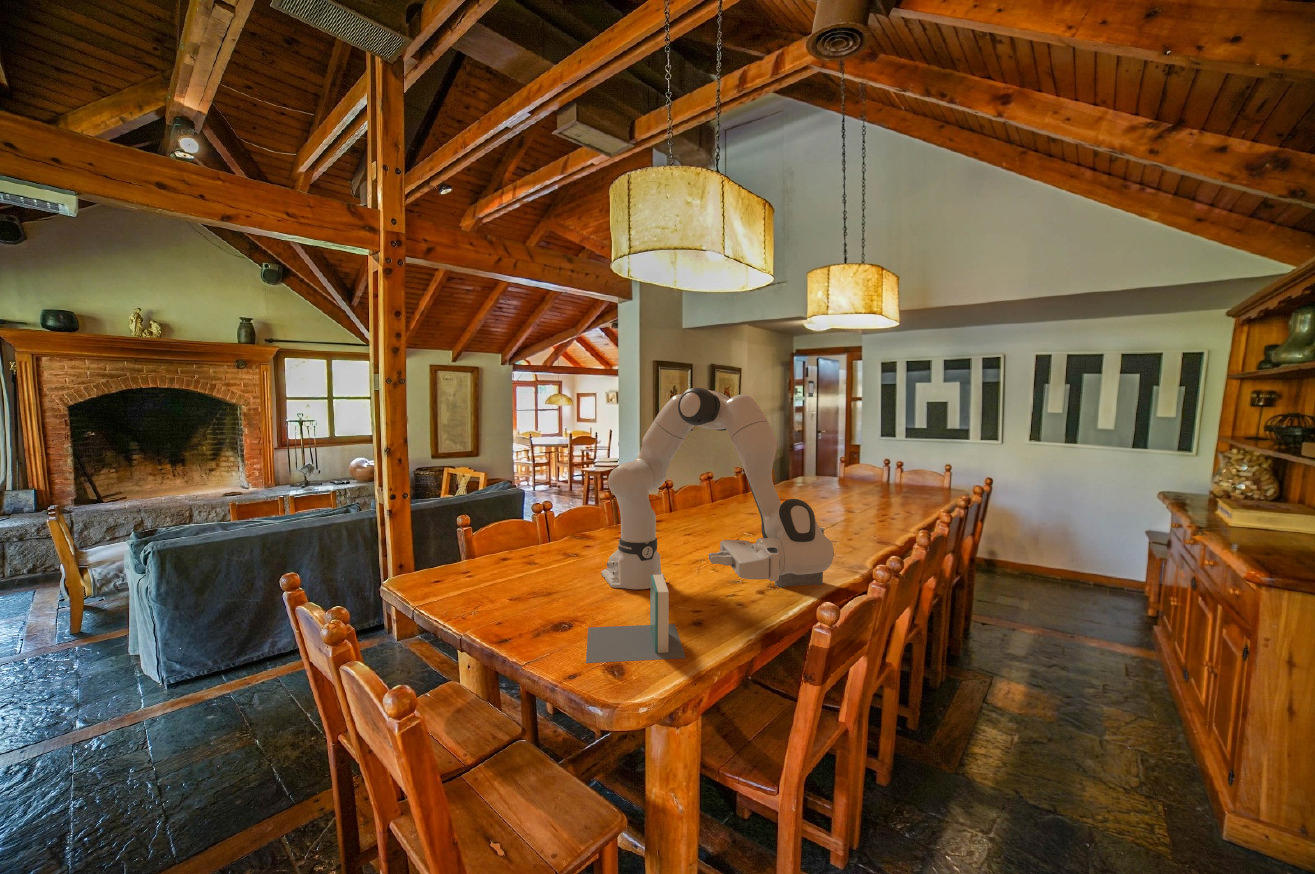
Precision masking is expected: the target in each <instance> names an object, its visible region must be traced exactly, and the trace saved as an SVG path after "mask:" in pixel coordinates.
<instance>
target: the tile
mask: <svg viewBox="0 0 1315 874" xmlns="http://www.w3.org/2000/svg"><path fill="white" fill-rule="evenodd" d="M663 574H664V573H662V575H650V588H649V589H650V590H649V591H650V593H649V594H650V595H649V596H650V597H649V598H650V600H649V601H650V611H649V612H650V614H649V616H650V619H649V620H650V622H649V623H650V624H649V625H650V631H651V635H652V640H653V645H654V649H655V653H665V652H668V630H669V624H670V623H669V621H670V619H669V617H670V616H669V615H670V614H669V611H670V609H669V607H670V606H669V605H670V602H669V601H670V596H669V595H670V594H669V593H670V592H669V588H668V586H667V583H666V581H665V576H664V577H663Z"/></svg>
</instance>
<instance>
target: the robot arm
mask: <svg viewBox="0 0 1315 874" xmlns="http://www.w3.org/2000/svg"><path fill="white" fill-rule="evenodd" d="M694 427H698V428H701V429H704V430H715V431H721V432H723V431H726V432H727V433H728V435H729V438H730V440H731V442H732V445H733V447H734V449H735V452H736V454H737V456H738V458H739V461H740V463H741V466H742V468H743V471H744V474H745V476H746V479H747V482H748V485H749V488H750V491H751V494H752V496H753V499H754V502H755V505H756V507H757V509H758V513H759V515H760V521H761V535H762V537H759V538H757V539H756V541H755V543H752V542H750V541H749V540H744V539H741V540H740V539H722V540H721V541H720V543H719V547H720V548H719V549H720V550H719V551H717V552H710V553H709V554H708V560H709V561H710V563H711V564H712V565H723V566H728V567H729V566H730V567H731V568H732V570H733V571H734V572H735V573H736V575H737V576H738V577H739V578H741V579H745V580H763V581H764V580H768V581H770V582H775V581H778V580H779V575H784V574H787V573H792V574H797V575H801V574H813V573H820V572H823V573H824V572H825V571H827V570H828V569H829V568H830V567H831V565H832V562H833V560H834V553H835V552H834V545H833V542H832V541H831V540H830V538H828V537H827V536H826V535H825V533H824V534H823V533H822V531H821V529H820V528H821V527H820V525H819V524H818V522H817V519H816V516H815V512H814V510H813V508H812V507H811V506H810V504H808V503H807V502H806V501H804V500H802V499H799V498H789V499H786V500H784V501H783V502H782V503H781V500H780V497H779V495H778V492H777V489H776V487H775V485H774V481H773V468H774V463H775V462H774V461H775V457H776V453H777V449H778V444H777V439H776V435H775V433H774V431H773V430H774V429H772V427H771V424H770V423H769V420H768V419H767V417H766V415H765V414H764V412H763V410H762V409H761V407H760V406H759V405H758V403H757V402H756V401H755V399H754V398H753V397H752V396H750V395H748V394H744V393H743V394H737V395H734V396H729V395H725V394H724V393H722V392H719V391H717V390H709V389H706V388H705V387H704V388H703V387H692V388H688V389H686V390H685V391H684V392H682V393H681V394H678V393H677V394H675V395H673V396H672V397H671V398H670V399H669V400H668V401H667V402H666V403H665V404H664V406H663V407H662V408H661V409H660V411H659V412H658V413H657V415H656V416H655V419H653V421H652V423H651V425H650V426H649V427H648V430H647V431H646V432H645V434H644V436H643V437H642V442H641V443H642V444H641V445H642V446H641V450H640V452H639V455H638V456H637V457H636V459H634V460H632V461H629V462H623V463H621V464H619V465H618V466H616V467H614V468H613V469H612V470H611V471H610V473H609V474H608V479H607V484H608V485H607V486H608V488H609V491H610V492H611V493H612V495H613V496H615V498H616V501H617V505H618V508H619V513H620V537H618V546H617V550H615V552H613V553H612V554H611V555H610V556H609V557H608V561H607V562H606V567H607V568H604V569H602V570H601V573H602V574H601V576H603V578H604V577H605V578H604V579H605V581H606V582H607V583H608V585H609V586H610V587H611V588H615V589H628V590H645V589H650V575H662V574H663V577H664V578H665V574H664V573H662V568H661V567H662V566H661V565H662V564H661V554H660V553H659V552H658V551H657V550H658V538H657V519H656V518H657V515H656V512H655V511H654V510H653V508H652V506H651V502H650V498H649V497H650V496H649V495H650V493H652V492H655V491H656V490H658V489H659V488H660V487H662V486H663V484H664V483H665V482H666V479H667V472H668V470H669V467H670V465H671V462H672V461H673V459H674V457H675V455H676V454H677V452H678V451H679V449H680V448H681V447H682V444H683V443H684V441H685V440H686V439H687V437H688V436H689V433H690V432H691V431H692V429H693V428H694Z"/></svg>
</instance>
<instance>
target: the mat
mask: <svg viewBox="0 0 1315 874" xmlns="http://www.w3.org/2000/svg"><path fill="white" fill-rule="evenodd" d="M585 655H586V657H585V658H586V659H585V663H586V664H598V663H599V664H600V663H616V662H618V663H619V662H634V661H636V662H637V661H639V662H641V661H654V660H655V661H656V660H657V661H658V660H678V659H687V656H686V654H685V650H684V648H683V645H682V642H681V638H680V636H679V633H678V630H677V627H676V624H675V623H669V630H668V652H665V653H655V649H654V645H653V640H652V635H651V631H650V624H643V625H642V624H641V625H638V624H637V625H617V626H616V625H615V626H595V627H594V626H592V627H588V628H587V642H586V654H585Z"/></svg>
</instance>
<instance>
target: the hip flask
mask: <svg viewBox="0 0 1315 874" xmlns="http://www.w3.org/2000/svg"><path fill="white" fill-rule="evenodd" d="M819 528H820V529H821V531H822V533H823V534H824V535H825V528H821V527H819ZM823 578H824V571H823V572H820V573H813V574H801V575H797V574H792V573H787V574H784V575H779V580H778V581H774V586H775V587H776V586H778V587H777V588H780V587H783V588H786V587H785V586H789V587H795V586H796V587H798V586H797V585H799V586H816V585H817V586H819V585H820V586H821V585H823V583H824V582H823V580H824V579H823Z"/></svg>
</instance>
